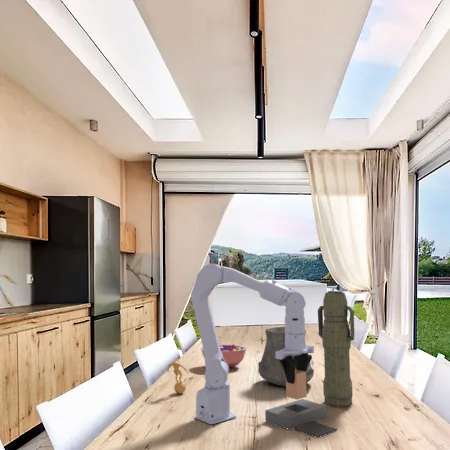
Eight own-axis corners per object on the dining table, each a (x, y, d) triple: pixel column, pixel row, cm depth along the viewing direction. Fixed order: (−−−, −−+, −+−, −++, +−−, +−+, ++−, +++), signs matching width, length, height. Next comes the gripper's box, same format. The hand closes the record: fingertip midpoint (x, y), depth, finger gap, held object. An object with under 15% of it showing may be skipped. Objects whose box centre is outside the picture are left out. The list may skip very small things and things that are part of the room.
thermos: (324, 396, 149) (321, 290, 152) (360, 402, 143) (356, 291, 146) (315, 403, 142) (312, 291, 145) (352, 410, 135) (348, 292, 139)
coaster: (318, 438, 113) (318, 436, 113) (293, 429, 120) (293, 427, 120) (337, 430, 119) (337, 428, 119) (312, 422, 125) (312, 421, 125)
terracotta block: (297, 399, 126) (296, 373, 126) (286, 396, 129) (285, 371, 129) (306, 396, 128) (305, 371, 129) (295, 393, 131) (295, 369, 132)
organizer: (289, 429, 119) (289, 418, 120) (265, 421, 126) (265, 410, 126) (326, 416, 130) (326, 405, 130) (302, 409, 136) (302, 399, 137)
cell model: (247, 372, 185) (247, 344, 186) (199, 372, 185) (199, 344, 187) (246, 363, 202) (245, 337, 203) (201, 363, 202) (201, 337, 203)
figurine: (193, 393, 154) (193, 357, 155) (184, 398, 149) (184, 361, 150) (172, 390, 158) (172, 355, 159) (163, 395, 152) (163, 359, 153)
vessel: (292, 396, 150) (291, 335, 152) (246, 383, 167) (245, 328, 169) (331, 384, 165) (329, 329, 166) (285, 374, 181) (284, 323, 183)
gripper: (288, 337, 122) (289, 388, 121) (321, 332, 132) (322, 379, 130) (269, 334, 128) (270, 383, 126) (302, 329, 137) (303, 375, 136)
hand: (295, 381), depth 129 cm, fingers closed on terracotta block, 4 cm apart
